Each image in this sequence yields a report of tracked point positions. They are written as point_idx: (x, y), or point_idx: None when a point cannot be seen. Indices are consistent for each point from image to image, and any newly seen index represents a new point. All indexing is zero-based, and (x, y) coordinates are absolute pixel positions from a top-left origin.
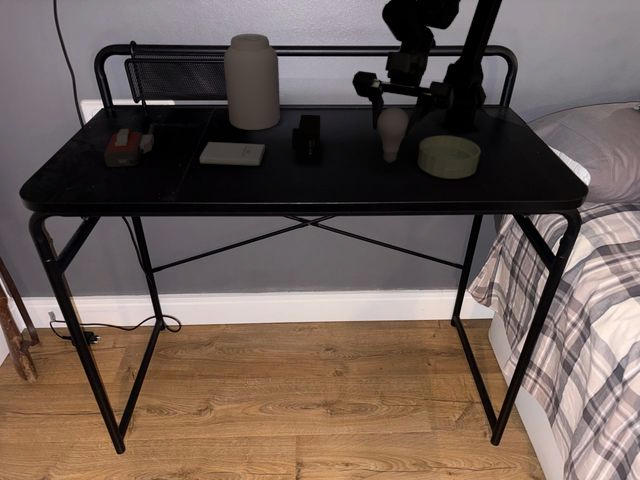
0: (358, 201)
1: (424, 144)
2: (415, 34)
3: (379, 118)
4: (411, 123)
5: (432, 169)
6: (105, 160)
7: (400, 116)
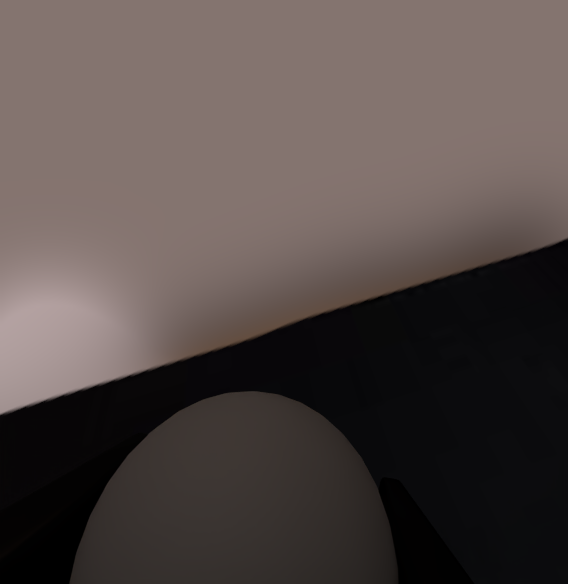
0: (334, 311)
1: None
2: None
3: (367, 483)
4: (72, 478)
5: None
6: None
7: (147, 457)
